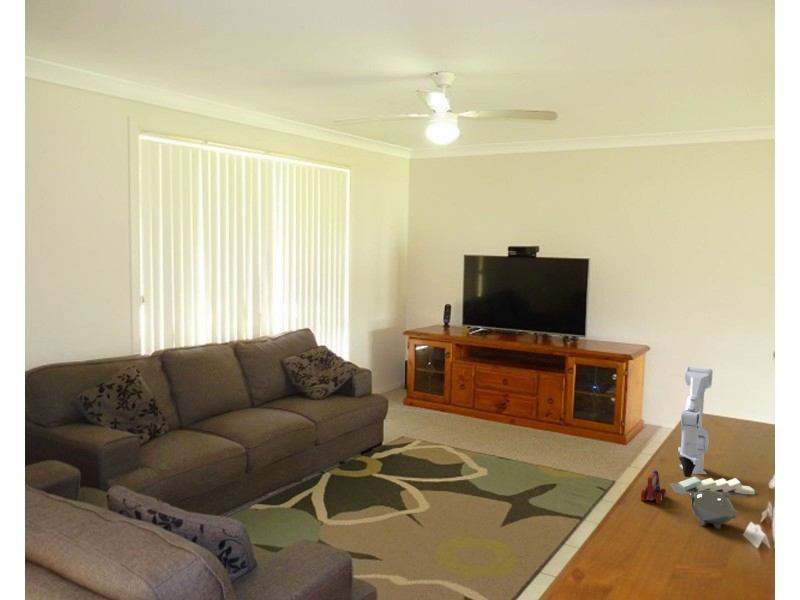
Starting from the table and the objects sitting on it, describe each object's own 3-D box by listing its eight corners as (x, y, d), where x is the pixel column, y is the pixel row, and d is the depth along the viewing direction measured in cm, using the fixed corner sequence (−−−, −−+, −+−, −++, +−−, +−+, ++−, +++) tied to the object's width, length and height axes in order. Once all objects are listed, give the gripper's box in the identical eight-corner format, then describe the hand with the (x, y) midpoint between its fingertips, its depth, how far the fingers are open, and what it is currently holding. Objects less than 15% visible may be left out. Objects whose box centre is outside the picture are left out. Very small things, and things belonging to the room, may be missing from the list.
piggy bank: (734, 536, 212) (736, 502, 211) (685, 525, 220) (687, 492, 218) (737, 523, 221) (740, 491, 220) (690, 513, 229) (692, 481, 228)
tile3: (709, 488, 247) (727, 482, 246) (705, 483, 251) (723, 478, 250) (711, 492, 247) (729, 486, 246) (706, 487, 251) (724, 482, 250)
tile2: (697, 487, 247) (715, 482, 246) (693, 483, 252) (710, 477, 251) (698, 491, 247) (716, 486, 246) (694, 487, 252) (712, 481, 251)
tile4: (722, 489, 246) (740, 482, 245) (717, 484, 251) (735, 478, 250) (724, 492, 246) (742, 486, 245) (719, 488, 251) (737, 481, 250)
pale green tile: (684, 487, 248) (700, 480, 248) (678, 482, 252) (694, 476, 252) (685, 490, 248) (702, 484, 248) (679, 486, 252) (695, 480, 253)
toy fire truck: (667, 496, 244) (668, 469, 243) (658, 507, 234) (660, 480, 233) (648, 492, 248) (649, 465, 247) (638, 502, 238) (640, 475, 237)
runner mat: (668, 484, 255) (668, 483, 255) (736, 487, 253) (737, 486, 253) (676, 494, 246) (676, 493, 246) (747, 497, 243) (748, 496, 243)
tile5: (735, 488, 246) (754, 490, 245) (731, 484, 250) (749, 486, 249) (735, 492, 246) (754, 494, 245) (730, 488, 250) (749, 490, 250)
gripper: (708, 448, 241) (706, 483, 242) (691, 436, 255) (689, 469, 257) (689, 448, 241) (687, 483, 242) (673, 436, 255) (671, 469, 257)
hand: (687, 476), depth 249 cm, fingers closed
